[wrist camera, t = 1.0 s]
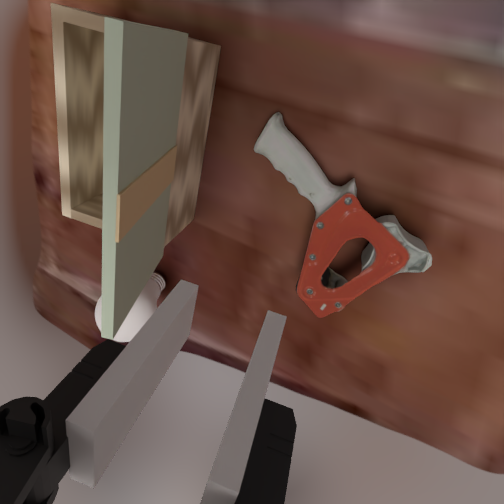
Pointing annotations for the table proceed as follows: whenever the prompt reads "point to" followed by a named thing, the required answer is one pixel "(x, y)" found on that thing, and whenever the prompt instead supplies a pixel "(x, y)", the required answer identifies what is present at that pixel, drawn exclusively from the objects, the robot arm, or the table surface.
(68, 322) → the table surface
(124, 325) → the light bulb
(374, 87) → the table surface
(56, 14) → the box
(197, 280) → the table surface
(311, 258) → the tape dispenser
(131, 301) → the lid
